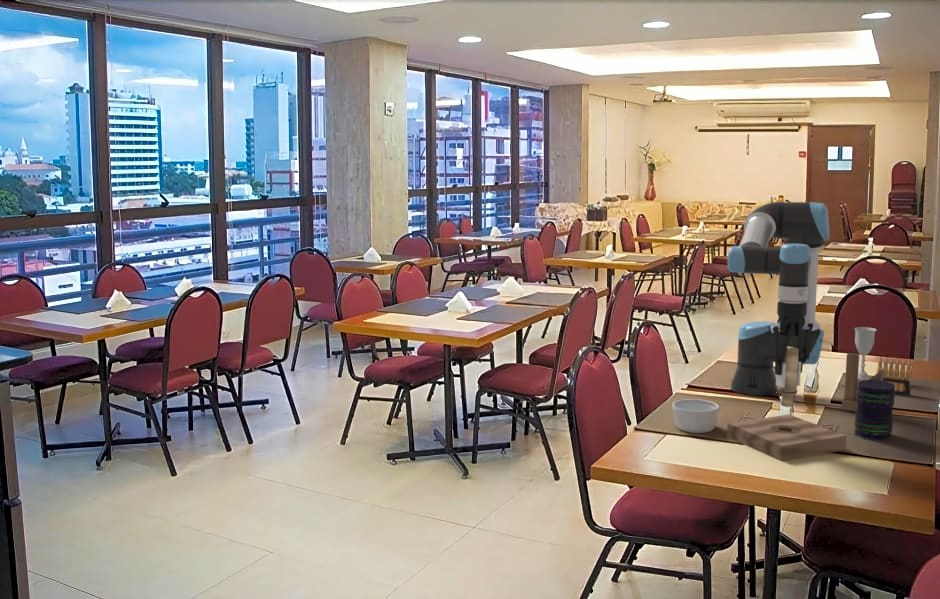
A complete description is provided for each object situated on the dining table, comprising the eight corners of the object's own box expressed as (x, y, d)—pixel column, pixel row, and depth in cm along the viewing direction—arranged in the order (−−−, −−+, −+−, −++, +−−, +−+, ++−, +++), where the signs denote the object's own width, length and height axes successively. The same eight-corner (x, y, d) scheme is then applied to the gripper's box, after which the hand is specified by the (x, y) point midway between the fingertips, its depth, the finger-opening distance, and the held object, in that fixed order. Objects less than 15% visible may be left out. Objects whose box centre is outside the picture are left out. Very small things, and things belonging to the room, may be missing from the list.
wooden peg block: (878, 416, 275) (882, 358, 272) (841, 410, 282) (844, 354, 279) (881, 413, 278) (884, 356, 275) (844, 408, 284) (847, 352, 282)
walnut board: (726, 436, 256) (727, 423, 255) (788, 427, 264) (789, 414, 264) (780, 460, 236) (781, 445, 235) (845, 450, 244) (846, 435, 243)
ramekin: (689, 437, 256) (690, 413, 255) (662, 424, 268) (663, 401, 267) (727, 431, 261) (728, 407, 260) (698, 419, 273) (699, 396, 272)
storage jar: (899, 439, 253) (903, 387, 250) (867, 441, 251) (870, 389, 249) (877, 429, 262) (881, 379, 260) (846, 431, 261) (850, 380, 259)
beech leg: (773, 404, 249) (776, 347, 247) (787, 402, 251) (790, 345, 249) (786, 408, 245) (789, 350, 242) (800, 406, 247) (803, 349, 244)
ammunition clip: (874, 391, 304) (877, 356, 302) (875, 390, 306) (878, 355, 304) (909, 396, 298) (912, 360, 296) (910, 394, 300) (913, 359, 298)
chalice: (874, 377, 322) (878, 328, 319) (871, 381, 317) (874, 331, 314) (852, 375, 326) (855, 326, 323) (849, 379, 321) (852, 329, 318)
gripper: (775, 305, 237) (771, 391, 240) (827, 301, 244) (822, 385, 247) (756, 301, 244) (752, 385, 247) (807, 297, 250) (803, 379, 254)
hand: (787, 385), depth 247 cm, fingers closed on beech leg, 4 cm apart
